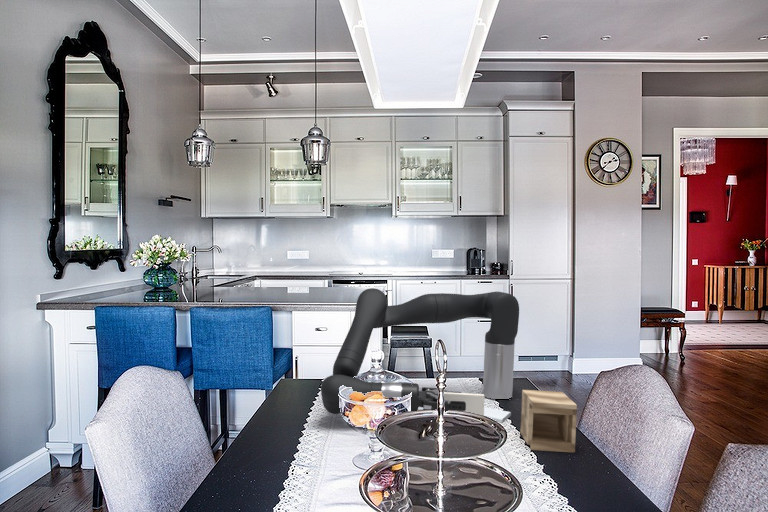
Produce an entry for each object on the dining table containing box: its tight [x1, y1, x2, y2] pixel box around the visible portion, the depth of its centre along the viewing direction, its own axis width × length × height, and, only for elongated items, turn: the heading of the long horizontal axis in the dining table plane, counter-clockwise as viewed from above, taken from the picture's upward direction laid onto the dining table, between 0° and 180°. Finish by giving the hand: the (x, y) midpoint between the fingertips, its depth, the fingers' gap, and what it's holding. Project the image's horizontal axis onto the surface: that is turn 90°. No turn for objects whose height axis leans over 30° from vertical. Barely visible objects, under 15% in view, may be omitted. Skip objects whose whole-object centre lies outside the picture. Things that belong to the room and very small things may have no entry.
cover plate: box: [444, 391, 486, 415], centre depth 128 cm, size 2×11×9 cm, turn 88°
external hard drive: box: [484, 406, 512, 424], centre depth 142 cm, size 2×8×12 cm
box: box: [519, 389, 578, 453], centre depth 123 cm, size 11×10×11 cm
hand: (463, 401), depth 128 cm, fingers open, 8 cm apart
